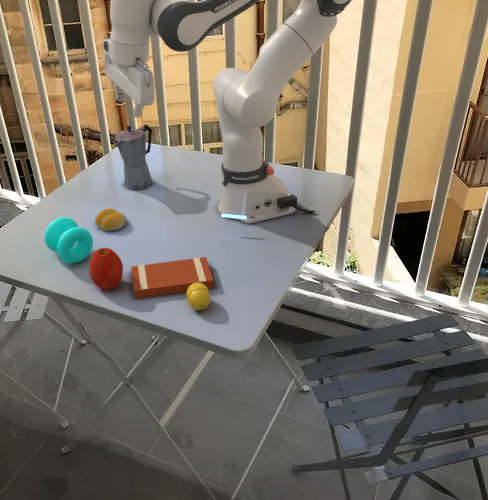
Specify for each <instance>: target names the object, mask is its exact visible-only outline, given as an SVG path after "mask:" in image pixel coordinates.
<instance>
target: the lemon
mask: <svg viewBox="0 0 488 500" xmlns="http://www.w3.org/2000/svg"><path fill="white" fill-rule="evenodd" d="M186 297H187V298H186V299H187V303H188V305H189V306H190V307H191V308H192V309H193V310H196V311H202V310H205V309H206V308H208V307H209V305H210V303H211V293H210V290H209V289H208V288H207V287H206V286H205V285H204V284H202V283H193V284H192V285H190V286H189V288H188V289H187V292H186Z"/></svg>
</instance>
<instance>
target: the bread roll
mask: <svg viewBox="0 0 488 500" xmlns="http://www.w3.org/2000/svg"><path fill="white" fill-rule="evenodd" d="M126 219H127V218H126V216H125V214H124V213H122V212H119V211H118V210H117V209H115V208H105V209H102V210H101V211H99V212H98V213H97V214H96V215H95V218H94V223H95V225H96V226H97V227H98V228H100V229H101V230H102V231H105V232H113V231H117V230H120V229H122V228H123V227H124V226H125V224H126V221H127V220H126Z"/></svg>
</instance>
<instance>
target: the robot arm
mask: <svg viewBox="0 0 488 500" xmlns="http://www.w3.org/2000/svg"><path fill="white" fill-rule="evenodd" d="M352 1H353V0H300V2H299V4H298V7H297V8H296V9H295V11H294V12H293V13H292V14H291V15H290V16H289V17H288V18H287V19H286V20H284V22H283V23H282V24H281V25H280V26H278V28H277V29H276V30H275V31H274V32H273V34H271V35H270V37H268V38H267V39H266V41H265V42H263V44H262V45H261V47H260V48H259V51H258V55H257V59H256V61H255V62H254V64H253V66H252V67H251V69H250V70H249V71H248V72H247V71H246V70H244V69H242V68H241V69H240V68H236V67H226V68H224V69H221V70H220V71H218V72H217V74H216V75H215V77H214V78H213V82H212V92H213V95H214V100H215V104H216V111H217V117H218V123H219V128H220V133H221V134H220V135H221V140H222V141H221V142H222V162H221V166H220V167H221V169H220V180H221V184H222V185H221V195H220V199H219V203H218V207H217V210H218V211H219V213H220V214H221V218H230V219H232V220H233V219H234V220H237V221H241V222H243V223H245V224H254V223H257V222H263V221H266V220H270V219H275V218H279V217H283V216H287V215H292V214H295V213H296V211H297V210H298V211H300V212H302V211H304V212H303V213H307V214H315V210H314V209H313V210H311V209H304V208H302V207H299V206H297V205H298V197H297V196H295V194H291V193H289V192H288V189H287V186H286V184H285V183H284V182H283V180H281V179H280V178H279V177H277V176H276V175H274V174H275V170H274V168H273V167H272V166H270V164H269V163H268V162H267V161H266V160H265V159H264V158H263V157H264V156H263V155H264V152H263V150H264V135H263V133H262V130H261V127H265V126H266V125H267V124H269V123H270V122H271V121H272V120H273V118H274V117H275V114H276V111H277V105H278V101H279V100H280V99H279V98H280V97H281V95H282V93H283V91H284V90H285V88H286V86H287V85H288V83H289V82H290V80H291V79H292V78H293V77H294V76H295V74H296V73H297V72H298V71H299V70H300V69H301V68H302V67H303V66H304V65H305V64H306V63H307V62H308V61H309V60H310V59H311V58H312V57H313V55H315V54H316V53H317V51H318V50H319V49H320V48H321V47H322V46H323V45H324V43H325V42H326V41H327V40H328V38H329V36H330V35H331V34H332V32H333V31H334V29H335V28H336V26H337V23H338V15H340V14H341V13H342V12H344V10H345V9H346V8H347V7H348V6H349V5H350V3H351V2H352ZM258 2H260V0H198V1H197V0H196V1H195V0H110V5H109V7H110V8H109V10H110V11H109V19H110V22H111V31H110V35H109V38H106V39H103V40H102V49H103V50H104V51H103V63H104V71H105V75H106V77H107V78H108V79H109V80H110V81H112V83H113V88H114V93H115V100H116V101H117V102H119V103H121V102H125V101H126V98H125V97H126V96H128V97H129V98H130V99H131V100H132V101H133V104H134V108H132V109H131V111H132V113H131V114H132V117H134V118H135V119H136V118H137V119H139V118H141V117H142V116H143V114H142V113H143V109H144V108H145V107H148V106H151V105H153V104H154V103H155V98H156V97H155V96H156V95H155V93H156V91H155V77H154V73H153V72H152V70H150V66H149V65H148V64H147V63H148V62H149V60H150V57H149V56H150V39H151V38H150V37H151V36H152V35H158V36H159V37H160V39H161V40H162V41H163V43H164V44H165V46H167V47H168V48H169V49H171V50H172V51H174V52H179V53H185V52H189V51H192V50H194V49H195V48H196V47H198V46H199V45H200V44H201V43H202V42H203V41H204V40H205V39H206V38H207V37H208V36H209V35H210V34H211V33H212V32H213V31H214V30H216V29H218V28H219V27H221V26H222V25H224V24H225V23H227V22H229V21H230V20H232V19H234V18H235V17H237V16H240V14H242V13H244V12H245V11H247V10H249V9H250V8H252V7H253V6H255V5H256V4H257V3H258ZM290 207H293V208H295V209H294V210H293V211H289V208H290ZM288 211H289V212H288Z"/></svg>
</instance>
